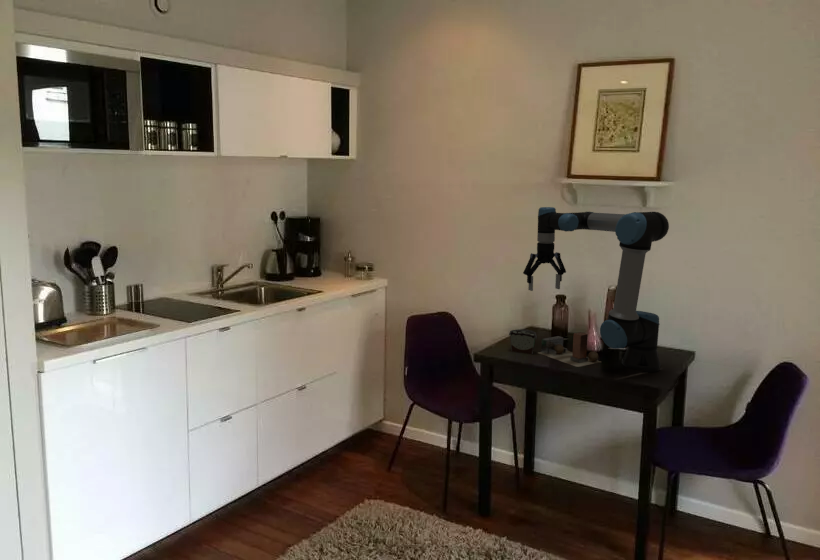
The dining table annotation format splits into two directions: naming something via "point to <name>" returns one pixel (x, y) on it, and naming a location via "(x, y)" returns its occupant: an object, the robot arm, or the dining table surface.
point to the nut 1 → (559, 348)
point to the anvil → (551, 345)
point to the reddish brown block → (579, 347)
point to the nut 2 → (593, 356)
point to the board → (566, 359)
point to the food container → (522, 341)
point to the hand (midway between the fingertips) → (544, 289)
